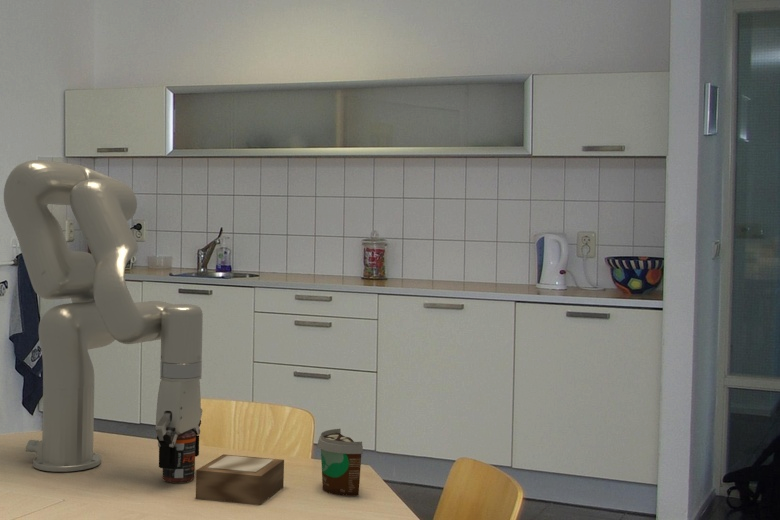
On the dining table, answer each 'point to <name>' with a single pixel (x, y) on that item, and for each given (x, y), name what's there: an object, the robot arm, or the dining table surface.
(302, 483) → the dining table surface
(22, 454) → the dining table surface
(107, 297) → the robot arm
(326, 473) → the food container
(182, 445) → the supplement bottle
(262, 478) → the walnut base
